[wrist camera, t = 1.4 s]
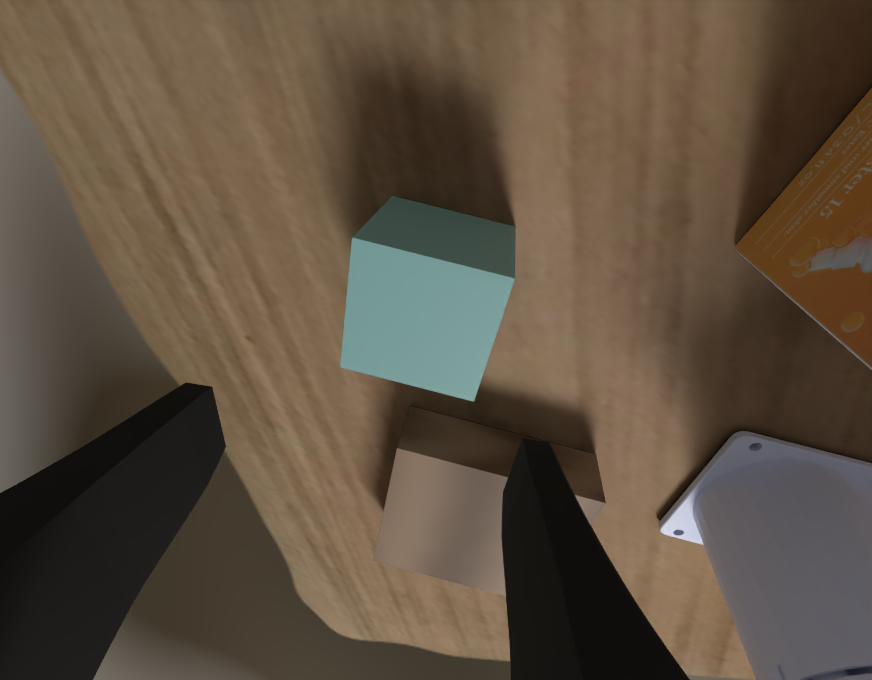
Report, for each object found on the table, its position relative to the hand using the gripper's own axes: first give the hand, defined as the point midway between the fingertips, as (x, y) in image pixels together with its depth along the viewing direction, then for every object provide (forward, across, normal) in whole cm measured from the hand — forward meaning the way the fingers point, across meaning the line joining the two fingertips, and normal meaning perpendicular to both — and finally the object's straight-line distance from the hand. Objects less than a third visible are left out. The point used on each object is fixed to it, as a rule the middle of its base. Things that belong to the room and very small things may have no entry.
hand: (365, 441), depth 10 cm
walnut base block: (+9, -5, +13) cm, 17 cm away
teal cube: (+10, -1, 0) cm, 10 cm away
